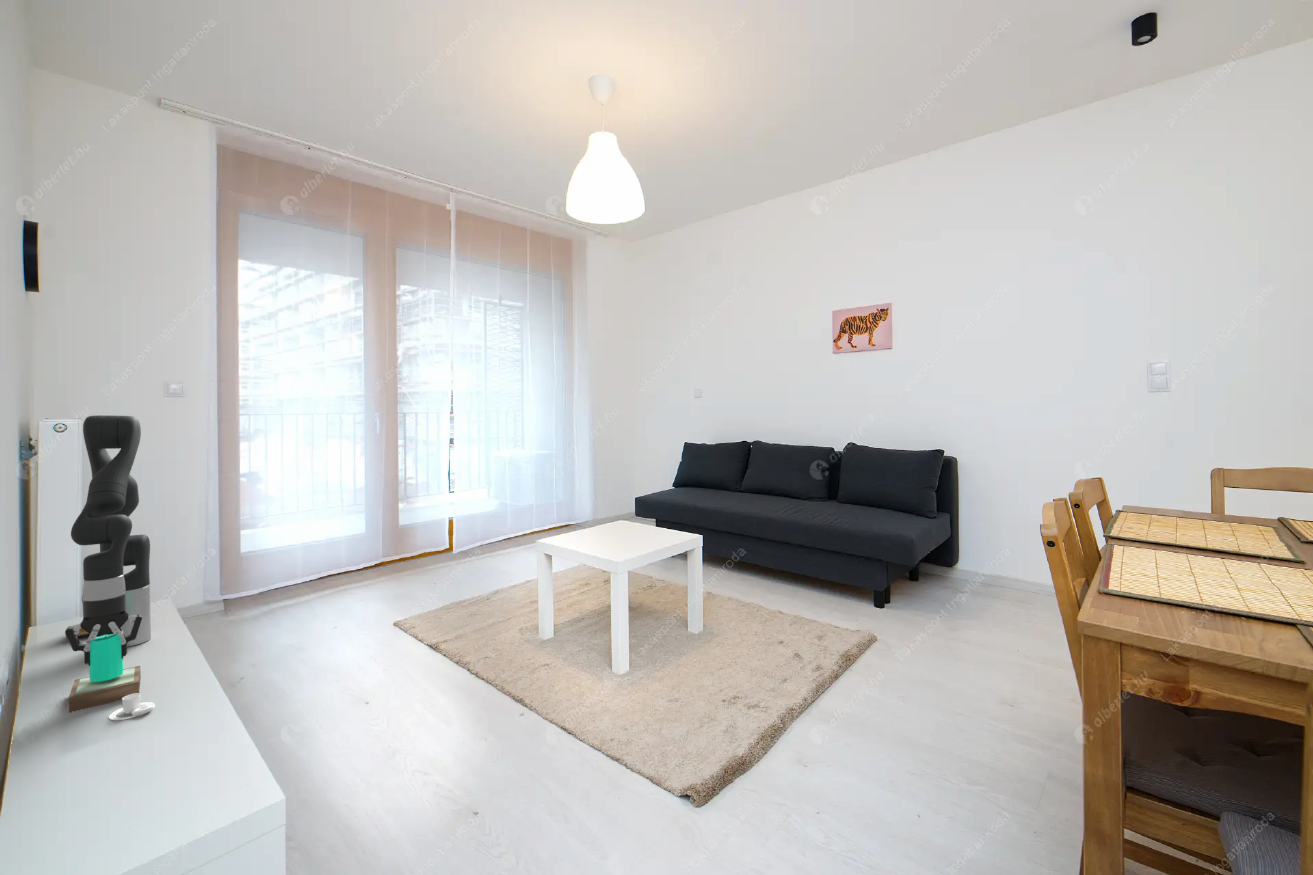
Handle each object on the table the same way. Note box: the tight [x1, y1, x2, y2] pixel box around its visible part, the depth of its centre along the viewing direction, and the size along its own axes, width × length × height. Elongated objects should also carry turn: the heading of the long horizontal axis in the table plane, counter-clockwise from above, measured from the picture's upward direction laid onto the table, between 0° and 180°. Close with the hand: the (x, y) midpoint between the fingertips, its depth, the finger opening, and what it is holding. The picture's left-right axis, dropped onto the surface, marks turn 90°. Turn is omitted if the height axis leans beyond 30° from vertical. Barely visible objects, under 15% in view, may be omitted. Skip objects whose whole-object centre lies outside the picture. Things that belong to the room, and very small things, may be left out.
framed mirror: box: [68, 665, 142, 713], centre depth 136 cm, size 12×12×4 cm
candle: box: [88, 634, 124, 682], centre depth 136 cm, size 6×6×12 cm
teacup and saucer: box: [108, 692, 156, 721], centre depth 128 cm, size 9×8×4 cm
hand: (106, 660), depth 136 cm, fingers closed on candle, 4 cm apart
